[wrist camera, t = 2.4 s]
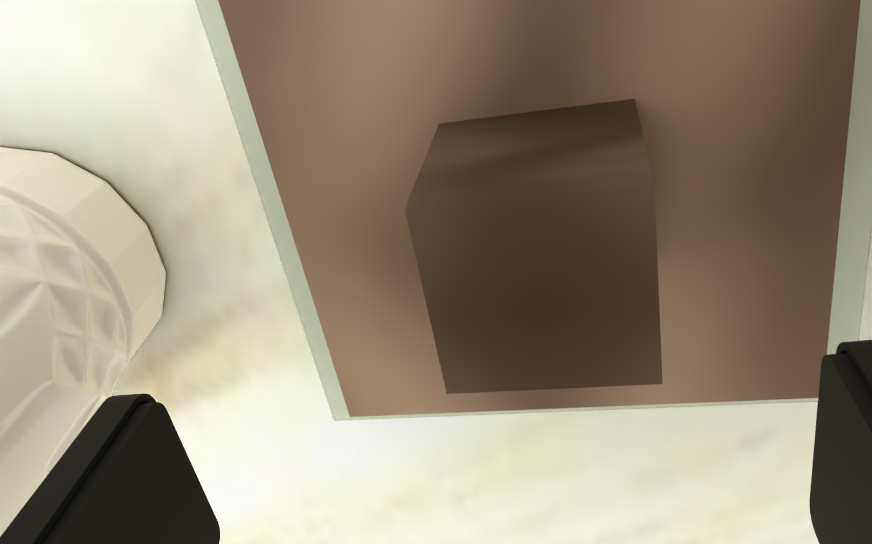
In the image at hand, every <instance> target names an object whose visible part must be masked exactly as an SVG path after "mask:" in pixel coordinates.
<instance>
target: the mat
mask: <svg viewBox="0 0 872 544" xmlns="http://www.w3.org/2000/svg"><path fill="white" fill-rule="evenodd" d="M195 2H196V5H197V8H198V11H199V14H200V17H201V20H202V23H203V26H204V29H205V32H206V35H207V38H208V41H209V44H210V47H211V50H212V53H213V56H214V59H215V62H216V65H217V68H218V71H219V74H220V77H221V80H222V83H223V86H224V89H225V92H226V95H227V98H228V101H229V105H230V108H231V111H232V114H233V117H234V120H235V123H236V126H237V129H238V132H239V135H240V138H241V141H242V144H243V147H244V150H245V153H246V156H247V159H248V162H249V165H250V168H251V171H252V174H253V177H254V180H255V183H256V186H257V189H258V192H259V195H260V198H261V201H262V204H263V207H264V210H265V213H266V216H267V219H268V222H269V225H270V228H271V231H272V234H273V237H274V241H275V244H276V247H277V250H278V253H279V256H280V259H281V262H282V265H283V268H284V271H285V274H286V277H287V280H288V283H289V286H290V289H291V292H292V295H293V298H294V301H295V304H296V307H297V310H298V313H299V316H300V319H301V322H302V325H303V328H304V331H305V334H306V337H307V340H308V343H309V346H310V349H311V352H312V355H313V358H314V361H315V364H316V367H317V370H318V373H319V377H320V380H321V383H322V386H323V389H324V392H325V395H326V398H327V401H328V404H329V407H330V410H331V413H332V416H333V419H334V421H339V420H364V419H390V418H415V417H440V416H465V415H490V414H516V413H541V412H566V411H591V410H617V409H642V408H667V407H692V406H717V405H743V404H768V403H793V402H818V398H805V399H780V400H756V401H731V402H706V403H682V404H657V405H632V406H608V407H583V408H559V409H534V410H509V411H485V412H460V413H435V414H411V415H386V416H362V417H350V416H349V413H348V410H347V406H346V403H345V400H344V397H343V394H342V391H341V387H340V384H339V381H338V378H337V375H336V372H335V368H334V365H333V362H332V359H331V356H330V353H329V349H328V346H327V343H326V340H325V337H324V334H323V330H322V327H321V324H320V321H319V318H318V315H317V311H316V308H315V305H314V302H313V299H312V296H311V292H310V289H309V286H308V283H307V280H306V277H305V273H304V270H303V267H302V264H301V261H300V258H299V254H298V251H297V248H296V245H295V242H294V239H293V235H292V232H291V229H290V226H289V223H288V220H287V216H286V213H285V210H284V207H283V204H282V201H281V198H280V194H279V191H278V188H277V185H276V182H275V179H274V175H273V172H272V169H271V166H270V163H269V160H268V156H267V153H266V150H265V147H264V144H263V141H262V137H261V134H260V131H259V128H258V125H257V122H256V118H255V115H254V112H253V109H252V106H251V103H250V99H249V96H248V93H247V90H246V87H245V84H244V80H243V77H242V74H241V71H240V68H239V65H238V61H237V58H236V55H235V52H234V49H233V46H232V42H231V39H230V36H229V33H228V30H227V27H226V23H225V20H224V17H223V14H222V11H221V8H220V4H219V1H218V0H195ZM871 230H872V0H861V3H860V13H859V24H858V34H857V44H856V55H855V65H854V76H853V86H852V97H851V107H850V118H849V128H848V139H847V149H846V160H845V170H844V181H843V191H842V201H841V212H840V222H839V233H838V243H837V254H836V264H835V275H834V285H833V296H832V306H831V317H830V327H829V338H828V348H827V355H828V354H836V349H837V347H838V345H839V344H840V343H841V342H851V341H858V339H859V330H860V322H861V314H862V305H863V297H864V289H865V280H866V272H867V264H868V255H869V247H870V239H871Z"/></svg>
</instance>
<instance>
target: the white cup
mask: <svg viewBox="0 0 872 544" xmlns="http://www.w3.org/2000/svg"><path fill="white" fill-rule="evenodd" d="M165 281H166V271H165V268H164V266H163V263H162V261H161V258H160V256H159V254H158V251H157V249H156V246H155V244H154V241H153V239H152V236H151V234H150V231H149V229H148V227H147V225H146V224H145V222H144V221H143V220H142V219H141V218H140V217H139V216H138V215H137V214H136V213H135V212H134V211H133V210H132V209H131V207H130V206H129V205H128V204H127V203H126V202H125V201H124V200H123V199H122V198H121V197H120V196H119V195H118V194H117V192H116V191H115V190H114V189H113V188H112V187H111V186H110V185H109V184H108V183H107V182H106V181H104V180H102V179H100V178H98V177H97V176H95V175H93V174H91V173H89V172H87V171H85V170H84V169H82V168H80V167H78V166H76V165H74V164H72V163H70V162H68V161H67V160H65V159H63V158H61V157H59V156H57V155H55V154H53V153H47V152H39V151H30V150H22V149H13V148H4V147H0V536H1V535H2V534H3V533H4V531H5V530H6V529H7V527H8V526H9V525H10V523H11V522H12V521H13V519H14V518H15V517H16V516H17V514H18V513H19V512H20V510H21V509H22V508H23V506H24V505H25V504H26V502H27V501H28V500H29V498H30V497H31V496H32V495H33V493H34V492H35V491H36V489H37V488H38V487H39V485H40V484H41V483H42V481H43V480H44V479H45V478H46V476H47V475H48V474H49V472H50V471H51V470H52V468H53V467H54V466H55V464H56V463H57V462H58V461H59V459H60V458H61V457H62V455H63V454H64V453H65V451H66V450H67V449H68V447H69V446H70V445H71V444H72V442H73V441H74V440H75V438H76V437H77V436H78V434H79V433H80V432H81V430H82V429H83V428H84V427H85V425H86V424H87V423H88V421H89V420H90V419H91V417H92V416H93V415H94V413H95V412H96V411H97V409H98V408H99V407H100V406H101V404H102V403H103V402H104V401H105V400H106V399H107V398H109V397H111V396H112V393H113V389H114V387H115V385H116V383H117V380H118V378H119V376H120V375H121V373H122V372H123V371H124V369H125V368H126V366H127V365H128V363H129V361H130V360H131V359H132V357H133V356H134V354H135V353H136V352H137V350H138V349H139V347H140V346H141V345H142V343H143V342H144V341H145V339H146V338H147V336H148V335H149V334H150V332H151V331H152V329H153V328H154V327H155V325H156V324H157V322H158V321H159V319H160V318H161V316H162V311H163V301H164V291H165Z"/></svg>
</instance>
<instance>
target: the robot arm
mask: <svg viewBox="0 0 872 544" xmlns="http://www.w3.org/2000/svg"><path fill="white" fill-rule="evenodd" d="M810 514H811V520H812V524H813V527H814V530H815V533H816V536H817V538H818V541H819V543H820V544H872V340H864V341H851V342H841V343H840V344H839V345H838V347H837V349H836V354H828V355H824V356H823V358H822V363H821V372H820V384H819V396H818V408H817V420H816V432H815V444H814V456H813V468H812V480H811V492H810ZM219 541H220V528H219V524H218V521H217V519H216V517H215V515H214V513H213V510H212V508H211V506H210V504H209V502H208V499H207V497H206V495H205V493H204V491H203V489H202V486H201V484H200V482H199V480H198V478H197V475H196V473H195V471H194V469H193V467H192V464H191V462H190V460H189V458H188V456H187V453H186V451H185V449H184V447H183V445H182V443H181V440H180V438H179V436H178V434H177V432H176V429H175V427H174V425H173V423H172V421H171V418H170V416H169V414H168V412H167V410H166V408H165V406H164V405H163V404H161V403H158V402H156V401H155V399H154V398H153V397H152V396H150V395H149V394H132V395H119V396H111V397H109V398H107V399H106V400H105V401H104V402H103V403H102V404H101V406H100V407H99V408H98V409H97V411H96V412H95V413H94V415H93V416H92V417H91V419H90V420H89V421H88V423H87V424H86V425H85V427H84V428H83V429H82V430H81V432H80V433H79V434H78V436H77V437H76V438H75V440H74V441H73V442H72V444H71V445H70V446H69V447H68V449H67V450H66V451H65V453H64V454H63V455H62V457H61V458H60V459H59V461H58V462H57V463H56V464H55V466H54V467H53V468H52V470H51V471H50V472H49V474H48V475H47V476H46V478H45V479H44V480H43V481H42V483H41V484H40V485H39V487H38V488H37V489H36V491H35V492H34V493H33V495H32V496H31V497H30V498H29V500H28V501H27V502H26V504H25V505H24V506H23V508H22V509H21V510H20V512H19V513H18V514H17V516H16V517H15V518H14V519H13V521H12V522H11V523H10V525H9V526H8V527H7V529H6V530H5V531H4V533H3V534H2V535H1V536H0V544H219Z"/></svg>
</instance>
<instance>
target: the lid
mask: <svg viewBox="0 0 872 544" xmlns="http://www.w3.org/2000/svg"><path fill="white" fill-rule="evenodd" d="M218 1H219V4H220V8H221V11H222V14H223V17H224V20H225V23H226V27H227V30H228V33H229V36H230V39H231V42H232V46H233V49H234V52H235V55H236V58H237V61H238V65H239V68H240V71H241V74H242V77H243V80H244V84H245V87H246V90H247V93H248V96H249V99H250V103H251V106H252V109H253V112H254V115H255V118H256V122H257V125H258V128H259V131H260V134H261V137H262V141H263V144H264V147H265V150H266V153H267V156H268V160H269V163H270V166H271V169H272V172H273V175H274V179H275V182H276V185H277V188H278V191H279V194H280V198H281V201H282V204H283V207H284V210H285V213H286V216H287V220H288V223H289V226H290V229H291V232H292V235H293V239H294V242H295V245H296V248H297V251H298V254H299V258H300V261H301V264H302V267H303V270H304V273H305V277H306V280H307V283H308V286H309V289H310V292H311V296H312V299H313V302H314V305H315V308H316V311H317V315H318V318H319V321H320V324H321V327H322V330H323V334H324V337H325V340H326V343H327V346H328V349H329V353H330V356H331V359H332V362H333V365H334V368H335V372H336V375H337V378H338V381H339V384H340V387H341V391H342V394H343V397H344V400H345V403H346V406H347V410H348V413H349V416H350V417H362V416H386V415H411V414H435V413H460V412H485V411H509V410H534V409H559V408H583V407H608V406H632V405H657V404H682V403H706V402H731V401H756V400H780V399H805V398H818V396H819V384H820V372H821V363H822V358H823V356H824V355H827V348H828V338H829V327H830V317H831V306H832V296H833V285H834V275H835V264H836V254H837V243H838V233H839V222H840V212H841V201H842V191H843V181H844V170H845V160H846V149H847V139H848V128H849V118H850V107H851V97H852V86H853V76H854V65H855V55H856V44H857V34H858V24H859V13H860V3H861V0H218Z"/></svg>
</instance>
